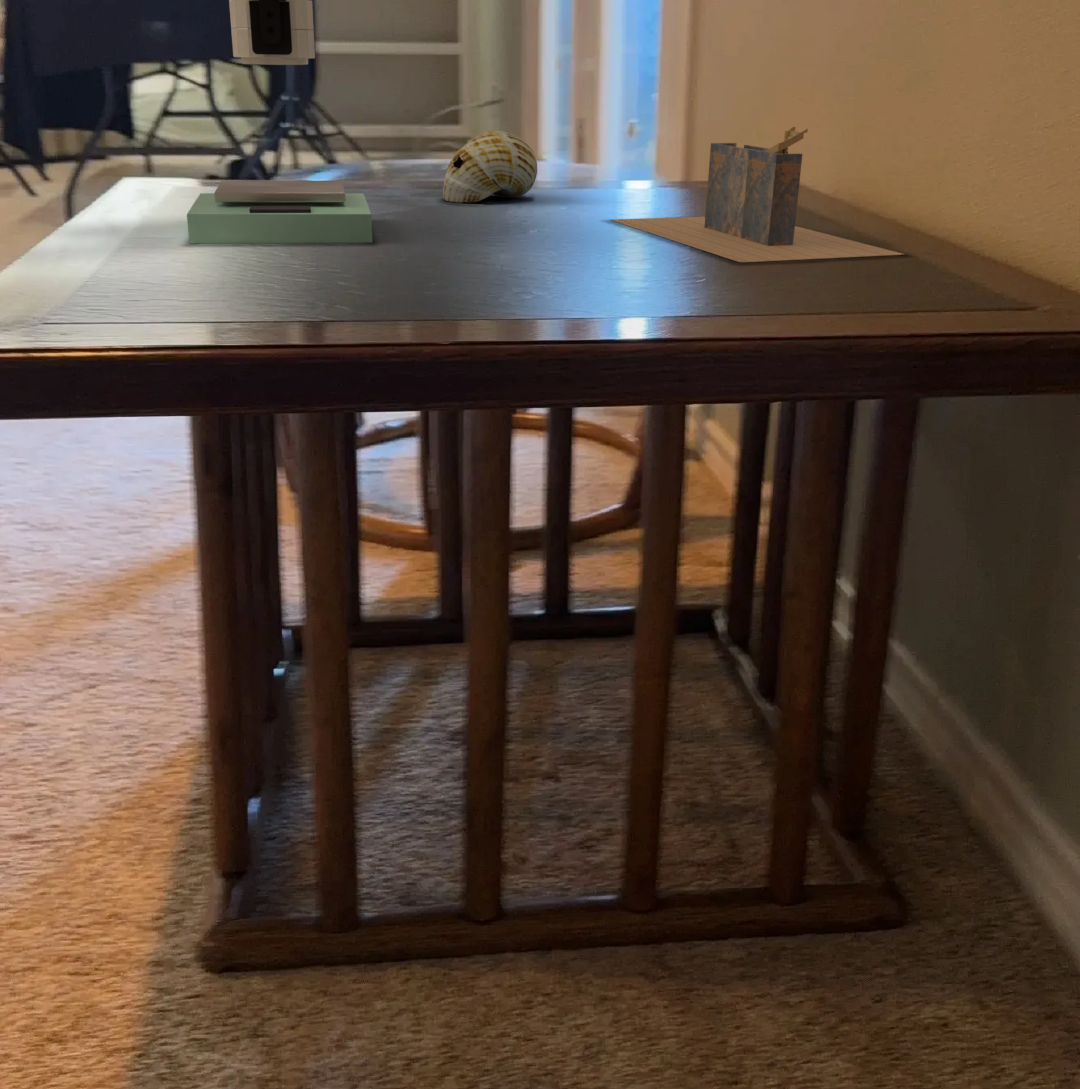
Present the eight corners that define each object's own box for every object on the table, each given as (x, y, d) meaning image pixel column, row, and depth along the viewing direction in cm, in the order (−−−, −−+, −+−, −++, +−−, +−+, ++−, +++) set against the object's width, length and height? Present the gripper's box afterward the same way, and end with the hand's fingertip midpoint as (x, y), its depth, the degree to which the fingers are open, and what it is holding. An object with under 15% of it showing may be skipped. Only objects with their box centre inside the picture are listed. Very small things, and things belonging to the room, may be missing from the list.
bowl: (232, 64, 97) (226, -3, 95) (236, 62, 103) (231, -1, 101) (315, 65, 98) (312, -1, 96) (315, 63, 104) (311, 1, 102)
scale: (189, 243, 97) (186, 210, 96) (202, 219, 110) (200, 189, 108) (372, 242, 100) (371, 209, 98) (364, 219, 112) (363, 190, 111)
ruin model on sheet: (906, 254, 101) (923, 134, 97) (740, 262, 95) (751, 135, 91) (753, 215, 122) (762, 115, 118) (609, 219, 116) (614, 114, 112)
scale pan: (215, 202, 100) (214, 192, 100) (221, 189, 108) (220, 180, 108) (345, 202, 102) (345, 192, 102) (342, 189, 110) (342, 181, 110)
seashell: (435, 197, 123) (437, 104, 124) (450, 228, 133) (451, 142, 134) (532, 194, 122) (533, 101, 123) (539, 227, 132) (540, 140, 133)
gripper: (216, -175, 100) (234, 51, 107) (200, -213, 85) (222, 54, 92) (306, -171, 102) (317, 52, 109) (306, -207, 86) (319, 56, 93)
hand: (273, 51), depth 100 cm, fingers closed on bowl, 6 cm apart
